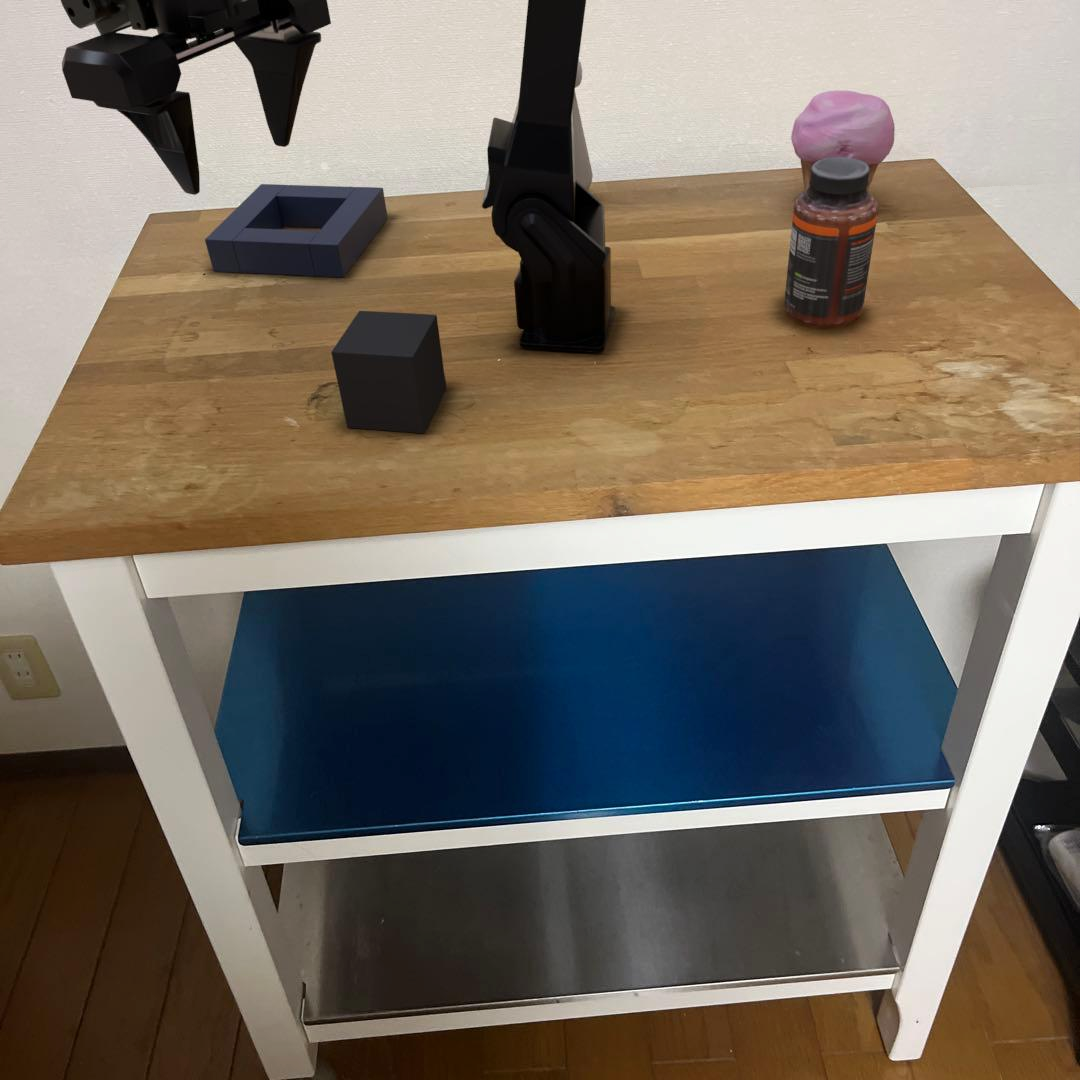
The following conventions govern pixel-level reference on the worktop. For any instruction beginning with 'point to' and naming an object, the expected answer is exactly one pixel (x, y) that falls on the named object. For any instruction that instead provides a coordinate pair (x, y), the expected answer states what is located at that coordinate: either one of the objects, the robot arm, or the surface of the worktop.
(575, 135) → the salt shaker
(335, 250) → the base
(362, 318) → the black cube
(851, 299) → the supplement bottle
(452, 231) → the worktop surface
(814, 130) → the cupcake
